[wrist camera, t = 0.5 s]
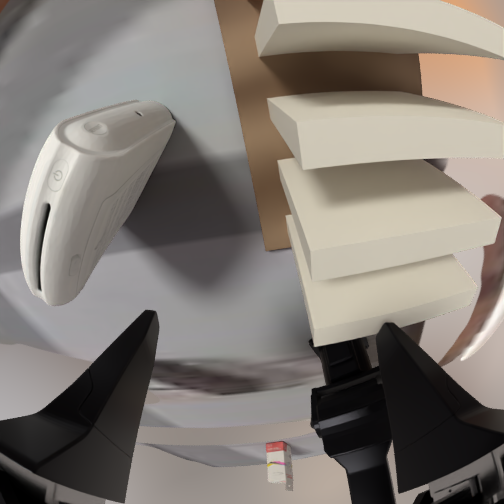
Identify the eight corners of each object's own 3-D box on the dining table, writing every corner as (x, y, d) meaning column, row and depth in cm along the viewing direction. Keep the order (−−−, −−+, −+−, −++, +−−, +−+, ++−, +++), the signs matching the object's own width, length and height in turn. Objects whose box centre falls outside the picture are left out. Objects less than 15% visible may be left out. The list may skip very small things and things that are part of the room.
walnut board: (411, 222, 23) (415, 226, 22) (265, 245, 24) (265, 251, 23) (391, -38, 9) (395, -40, 8) (205, -38, 10) (204, -42, 9)
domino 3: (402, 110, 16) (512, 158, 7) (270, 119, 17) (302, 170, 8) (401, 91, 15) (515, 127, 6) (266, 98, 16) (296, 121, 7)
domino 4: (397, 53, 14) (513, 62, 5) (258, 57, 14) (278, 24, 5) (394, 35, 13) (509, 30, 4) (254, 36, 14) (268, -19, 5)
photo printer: (137, 89, 16) (18, 121, 6) (187, 115, 17) (109, 171, 7) (89, 199, 21) (7, 299, 10) (129, 221, 22) (65, 336, 12)
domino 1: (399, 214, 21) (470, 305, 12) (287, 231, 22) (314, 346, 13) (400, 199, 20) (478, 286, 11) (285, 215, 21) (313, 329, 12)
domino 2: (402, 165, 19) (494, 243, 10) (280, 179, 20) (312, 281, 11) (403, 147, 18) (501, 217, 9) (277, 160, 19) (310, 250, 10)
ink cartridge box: (264, 443, 60) (267, 491, 48) (283, 440, 59) (286, 489, 47) (274, 448, 65) (277, 492, 53) (290, 446, 64) (294, 490, 52)
